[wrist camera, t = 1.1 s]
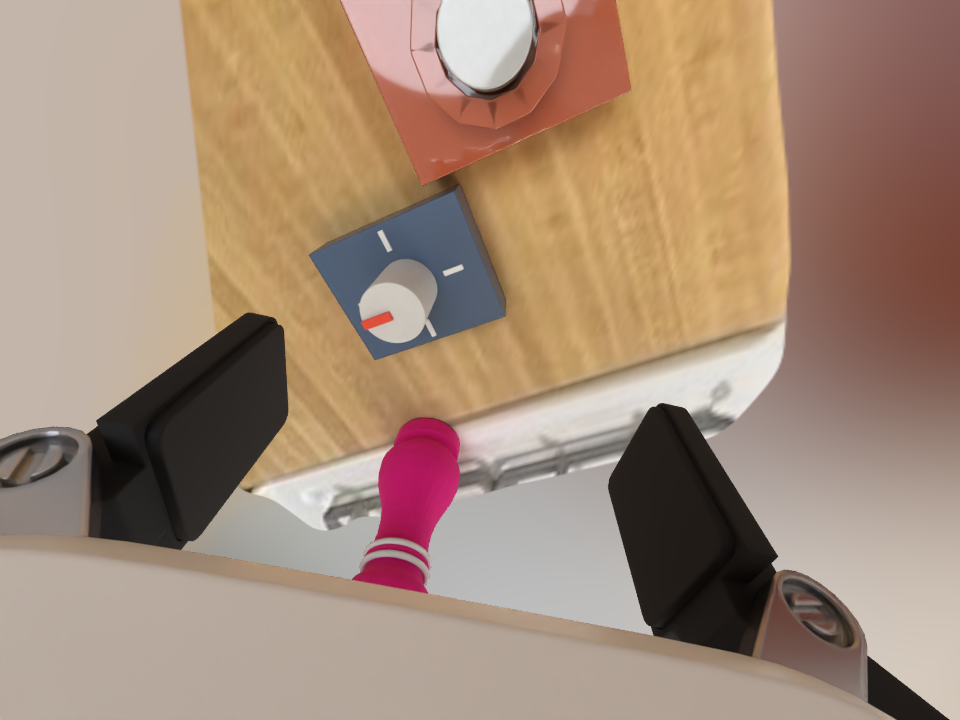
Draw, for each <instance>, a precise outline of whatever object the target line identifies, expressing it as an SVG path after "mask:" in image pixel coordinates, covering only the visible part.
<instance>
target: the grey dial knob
mask: <svg viewBox="0 0 960 720" xmlns="http://www.w3.org/2000/svg"><path fill="white" fill-rule="evenodd" d="M436 296H437V283H436V280H435V277H434V276H433V274H432V272H431V271H430V270H429V269H428V268H427V267H426V266H425V265H423V264H422V263H420V262H418V261H415V260H411V259H400V260H396V261H394V262H392V263H390V264H389V265H388V266H387V267H386V268H385V269H384V270H383V272H382V273H381V274H380V275H379V276H378V277H377V279H376V280H375V281H374V282H373V283H372V284H371V286H370V287H369V288H368V289H367V290H366V291H365V293H364V294H363V296H362V298H361V301H360V307H359V309H360V315H361V319H362V322H361V324H362V326H363V327H364V329H365V330H369V331H370V332H371V333H372V334H373V335H375V336H376V337H378V338H379V339H382V340H384V341H387V342H391V343H403V342H407V341H410V340H412V339H414V338H415V337H416V336H418V335H419V334H420V332H421V331H422V329H423V327H424V325H425V322H426V320H427V318H428V315H429V313H430V311H431V309H432V306H433V304H434V302H435V299H436Z"/></svg>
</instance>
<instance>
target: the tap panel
mask: <svg viewBox="0 0 960 720" xmlns="http://www.w3.org/2000/svg"><path fill="white" fill-rule="evenodd" d="M309 256H310V258H311V260H312V261H313V263H314V264H315V266H316V268H317V269H318V271H319V272H320V274H321V275H322V277H323V279H324V280H325V282H326V283H327V285H328V287H329V288H330V290H331V291H332V293H333V295H334V296H335V298H336V299H337V301H338V302H339V304H340V306H341V307H342V309H343V310H344V312H345V314H346V315H347V317H348V318H349V320H350V322H351V323H352V325H353V326H354V328H355V329H356V331H357V333H358V334H359V336H360V337H361V339H362V341H363V342H364V344H365V345H366V347H367V349H368V350H369V352H370V353H371V355H372V356H373V358H374V360H377V359H380V358H383V357H386V356H389V355H392V354H395V353H398V352H401V351H404V350H407V349H410V348H413V347H416V346H419V345H422V344H425V343H428V342H431V341H434V340H437V339H440V338H443V337H446V336H449V335H452V334H455V333H458V332H460V331H463V330H466V329H469V328H472V327H475V326H478V325H481V324H484V323H487V322H490V321H493V320H496V319H499V318H502V317H505V314H506V298H505V296H504V293H503V291H502V288H501V286H500V283H499V281H498V278H497V276H496V273H495V271H494V268H493V266H492V263H491V261H490V258H489V255H488V253H487V250H486V248H485V245H484V243H483V240H482V238H481V235H480V233H479V230H478V228H477V225H476V223H475V220H474V218H473V215H472V213H471V210H470V208H469V205H468V203H467V200H466V198H465V195H464V193H463V190H462V188H461V185H460V184H458V185H456V186H454V187H452V188H449V189H447V190H445V191H442V192H440V193H438V194H436V195H433V196H431V197H429V198H427V199H424V200H422V201H420V202H418V203H415V204H413V205H411V206H409V207H406V208H404V209H402V210H400V211H397V212H395V213H393V214H391V215H388V216H386V217H384V218H382V219H379V220H377V221H375V222H373V223H370V224H368V225H366V226H364V227H361V228H359V229H357V230H355V231H352V232H350V233H348V234H346V235H343V236H341V237H339V238H337V239H334V240H332V241H330V242H328V243H326V244H324V245H323V246H321V247H320V248H318V249H317V250H315V251H314V252H312V253H311V254H309ZM400 259H411V260H415V261H418V262H420V263H422V264H423V265H425V266H426V267H427V268H428V269H429V270H430V271H431V272H432V274H433V276H434V277H435V280H436V283H437V296H436V299H435V302H434V304H433V306H432V309H431V311H430V313H429V315H428V318H427V320H426V322H425V325H424V327H423V329H422V331H421V332H420V334H419V335H418V336H416V337H415V338H414V339H412V340H410V341H407V342H403V343H391V342H387V341H384V340H382V339H379V338H378V337H376V336H375V335H373V334H372V333H371V332H370V331H369V330H365V329H364V327H363V326H362V324H361V322H362V319H361V315H360V309H359V307H360V301H361V298H362V296H363V294H364V293H365V291H366V290H367V289H368V288H369V287H370V286H371V284H372V283H373V282H374V281H375V280H376V279H377V277H378V276H379V275H380V274H381V273H382V272H383V270H384V269H385V268H386V267H387V266H388V265H389V264H390V263H392V262H394V261H396V260H400Z"/></svg>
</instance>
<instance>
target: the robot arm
mask: <svg viewBox="0 0 960 720" xmlns="http://www.w3.org/2000/svg"><path fill="white" fill-rule="evenodd" d="M287 416H288V394H287V377H286V359H285V341H284V329H283V327H282V326H281V325H278V324H277V321H276V319H275V318H273V317H269V316H264V315H259V314H255V313H246V314H244V315H243V316H241V317H240V318H239V319H237V320H236V321H234V322H233V323H232V324H230V325H229V326H227V327H226V328H225V329H223V330H222V331H220V332H219V333H218V334H216V335H215V336H214V337H212V338H211V339H209V340H208V341H207V342H205V343H204V344H202V345H201V346H200V347H198V348H197V349H195V350H194V351H193V352H191V353H190V354H188V355H187V356H186V357H184V358H183V359H182V360H180V361H179V362H177V363H176V364H174V365H173V366H172V367H170V368H169V369H167V370H166V371H165V372H164V373H162V374H161V375H159V376H158V377H156V378H155V379H154V380H152V381H151V382H149V383H148V384H147V385H145V386H144V387H142V388H141V389H140V390H138V391H137V392H135V393H134V394H133V395H131V396H130V397H129V398H127V399H126V400H124V401H123V402H121V403H120V404H119V405H117V406H116V407H115V408H113V409H112V410H110V411H109V412H107V413H106V414H105V415H103V416H102V417H100V418H99V419H98V420H96V421H97V424H98V426H97V427H96V428H95V429H93V430H92V431H90V432H89V433H88V434H85V433H84V432H83V431H81V430H77V429H73V428H70V427H47V428H38V429H32V430H28V431H24V432H21V433H16V434H13V435H10V436H8V437H5V438H3V439H0V720H949V719H948V718H946V717H945V716H944V715H943V714H941V713H940V712H939V711H938V710H936V709H935V708H934V707H932V706H931V705H930V704H929V703H927V702H926V701H925V700H923V699H922V698H921V697H920V696H918V695H917V694H916V693H915V692H913V691H912V690H911V689H910V688H908V687H907V686H906V685H904V684H903V683H902V682H901V681H899V680H898V679H897V678H895V677H894V676H893V675H892V674H890V673H889V672H888V671H886V670H885V669H884V668H883V667H881V666H880V665H879V664H878V663H876V662H875V661H874V660H872V659H871V658H870V657H869V656H867V643H866V639H865V634H864V633H863V631H862V629H861V627H860V625H859V623H858V621H857V620H856V618H855V617H854V616H853V614H852V613H851V612H850V610H849V609H848V608H847V607H846V606H845V605H844V604H843V603H842V602H841V601H840V600H839V599H838V598H837V597H836V596H835V595H834V594H833V593H832V592H831V591H829V590H828V589H827V588H825V587H824V586H823V585H822V584H820V583H819V582H817V581H815V580H814V579H812V578H810V577H809V576H806V575H804V574H802V573H799V572H796V571H792V570H782V571H779V572H776V571H775V569H774V567H773V566H772V564H771V563H772V562H773V561H774V560H775V559H776V558H777V557H778V555H777V554H776V552H775V551H774V549H773V547H772V546H771V544H770V543H769V541H768V539H767V538H766V537H765V535H764V533H763V531H762V530H761V528H760V527H759V525H758V524H757V522H756V520H755V519H754V517H753V515H752V514H751V512H750V511H749V509H748V507H747V506H746V504H745V502H744V501H743V499H742V498H741V496H740V494H739V493H738V491H737V490H736V488H735V486H734V485H733V483H732V482H731V480H730V478H729V477H728V475H727V474H726V472H725V470H724V469H723V467H722V466H721V464H720V463H719V461H718V459H717V458H716V456H715V454H714V453H713V451H712V450H711V448H710V446H709V445H708V443H707V441H706V440H705V438H704V437H703V435H702V433H701V432H700V430H699V429H698V427H697V425H696V424H695V422H694V421H693V419H692V417H691V416H690V414H689V413H688V411H687V410H686V409H685V408H683V407H678V406H674V405H669V404H665V403H660V404H658V405H657V406H656V407H651V408H650V409H649V410H648V412H647V413H646V415H645V417H644V419H643V420H642V422H641V424H640V426H639V427H638V429H637V431H636V433H635V434H634V436H633V438H632V440H631V441H630V443H629V445H628V447H627V448H626V450H625V452H624V454H623V455H622V457H621V459H620V461H619V462H618V464H617V466H616V468H615V469H614V471H613V473H612V475H611V477H610V479H609V484H608V489H609V494H610V498H611V501H612V504H613V509H614V512H615V516H616V520H617V523H618V527H619V531H620V534H621V538H622V542H623V545H624V549H625V553H626V556H627V560H628V563H629V567H630V571H631V575H632V578H633V582H634V586H635V589H636V593H637V597H638V600H639V604H640V608H641V611H642V615H643V618H644V621H645V622H646V624H647V625H649V626H651V628H652V632H653V635H654V636H651V635H646V634H641V633H635V632H630V631H625V630H620V629H614V628H609V627H604V626H598V625H593V624H588V623H582V622H577V621H572V620H567V619H562V618H556V617H551V616H546V615H541V614H535V613H530V612H524V611H519V610H514V609H508V608H503V607H498V606H492V605H487V604H481V603H475V602H470V601H465V600H459V599H454V598H449V597H443V596H438V595H432V594H427V593H421V592H416V591H410V590H405V589H399V588H394V587H389V586H383V585H378V584H372V583H367V582H361V581H355V580H350V579H344V578H339V577H333V576H327V575H322V574H316V573H311V572H305V571H299V570H294V569H288V568H282V567H277V566H271V565H266V564H260V563H254V562H248V561H243V560H237V559H232V558H226V557H220V556H214V555H208V554H202V553H196V552H189V551H183V550H181V549H182V548H183V547H184V545H185V544H186V543H187V542H188V541H194V540H196V539H197V538H198V537H199V536H200V535H201V534H202V533H203V531H204V530H205V529H206V527H207V526H208V525H209V523H210V522H211V521H212V519H213V518H214V517H215V515H216V514H217V513H218V511H219V510H220V509H221V507H222V506H223V505H224V503H225V502H226V501H227V499H228V498H229V497H230V495H231V494H232V493H233V491H234V490H235V489H236V487H237V486H238V485H239V483H240V482H241V481H242V479H243V478H244V477H245V475H246V474H247V473H248V471H249V470H250V469H251V467H252V466H253V465H254V463H255V462H256V461H257V459H258V458H259V457H260V455H261V454H262V453H263V451H264V450H265V449H266V447H267V446H268V445H269V443H270V442H271V441H272V439H273V438H274V437H275V435H276V434H277V433H278V432H279V430H280V429H281V428H282V426H283V425H284V423H285V421H286V419H287Z"/></svg>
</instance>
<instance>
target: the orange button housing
mask: <svg viewBox="0 0 960 720" xmlns="http://www.w3.org/2000/svg"><path fill="white" fill-rule="evenodd" d="M340 2H341V4H342V7H343V9H344V11H345V13H346V16H347V18H348V20H349V22H350V25H351V27H352V29H353V31H354V34H355V36H356V38H357V40H358V43H359V45H360V47H361V49H362V52H363V54H364V56H365V58H366V61H367V63H368V65H369V67H370V70H371V72H372V74H373V76H374V79H375V81H376V83H377V85H378V88H379V90H380V92H381V94H382V97H383V99H384V101H385V103H386V106H387V108H388V110H389V113H390V115H391V117H392V119H393V122H394V124H395V126H396V128H397V131H398V133H399V135H400V137H401V140H402V142H403V144H404V146H405V149H406V151H407V153H408V155H409V158H410V160H411V162H412V164H413V167H414V169H415V171H416V173H417V176H418V178H419V180H420V182H421V185H422V186H423V185H426V184H428V183H430V182H432V181H434V180H437V179H439V178H441V177H443V176H445V175H448V174H450V173H452V172H454V171H456V170H459V169H461V168H463V167H465V166H467V165H470V164H472V163H474V162H476V161H478V160H481V159H483V158H485V157H487V156H489V155H492V154H494V153H496V152H498V151H500V150H503V149H505V148H507V147H509V146H511V145H514V144H516V143H518V142H520V141H522V140H525V139H527V138H529V137H531V136H533V135H536V134H538V133H540V132H542V131H544V130H547V129H549V128H551V127H553V126H555V125H558V124H560V123H562V122H564V121H566V120H569V119H571V118H573V117H575V116H577V115H580V114H582V113H584V112H586V111H589V110H591V109H593V108H595V107H597V106H600V105H602V104H604V103H606V102H608V101H611V100H613V99H615V98H617V97H619V96H622V95H624V94H626V93H628V92H630V91H631V84H630V78H629V73H628V67H627V61H626V55H625V50H624V44H623V38H622V33H621V27H620V21H619V16H618V10H617V4H616V0H529V2H530V6H531V10H532V17H533V35H532V41H531V46H530V50H529V54H528V57H527V60H526V62H525V65H524V67H523V68H522V70H521V72H520V73H519V74H518V76H517V77H516V78H515V79H514V80H513V81H512V82H511V83H510V84H509V85H507V86H506V87H504V88H502V89H500V90H497V91H493V92H480V91H476V90H473V89H471V88H469V87H468V86H466V85H464V84H463V83H462V82H460V81H459V80H458V79H457V78H456V77H455V76H454V75H453V74H452V73H451V72H450V70H449V69H448V68H447V66H446V64H445V62H444V60H443V58H442V56H441V53H440V50H439V46H438V41H437V32H436V29H437V15H438V10H439V6H440V3H441V0H340Z"/></svg>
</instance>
